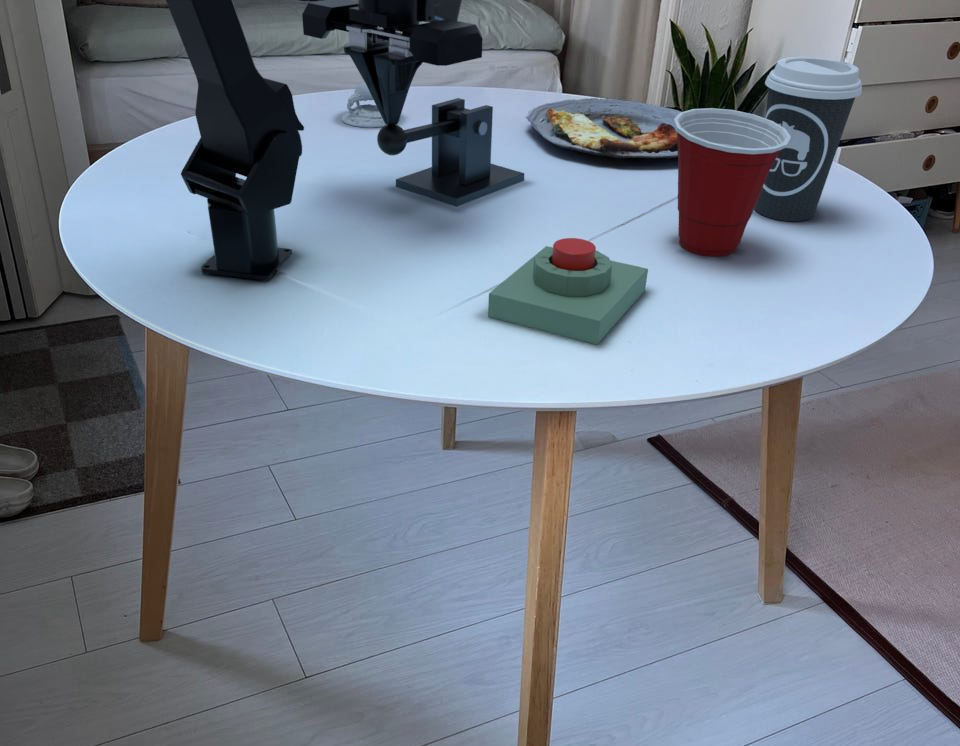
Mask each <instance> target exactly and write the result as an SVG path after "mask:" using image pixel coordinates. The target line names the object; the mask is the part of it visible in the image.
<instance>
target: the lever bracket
mask: <svg viewBox="0 0 960 746" xmlns="http://www.w3.org/2000/svg"><path fill="white" fill-rule="evenodd" d="M465 101H466V99H464V98H460V97H457V98H452V99H449V100H445V101H442V102H438V103H435V104H432V105H431V124H432V123H437V122H441V121H445V120H446V118H447V111H451V110H456V109H460V108H465V107H466V105H465V103H466V102H465ZM493 111H494V106H492V105H488V104H485V105H482V106H478V107H474V108H471V109H470V110H467V111H464V112H460V138H458V137H454V136H451V135H447V134H442V135H437V136H433V137H431V166H430V167H427V168H425V169H422V170H419V171H416V172H413V173H410V174H406V175H405V176H404V175H403V176H401V177H398V178H395V187H396V188H399V189H402V190H405V191H408V192H411V193H414V194H417V195H420V196H423V197H426V198H429V199H433V200H435V201H439V202H442V203H444V204H447V205H450V206H454V207H459V206H462V205H464V204H466V203H467V204H468V203H469V202H472V201H475V200H478V199H480V198H482V197H485V196H487V195H490V194H492V193H495V192H498V191H500V190H503V189H505V188H508V187H511V186H513V185H516V184H519V183H521V182H524V181H525V172H521V171H518V170H514V169H512V168H508V167H505V166H501V165H498V164H495V163H492V161H491V160H492V141H493V140H492V138H493V117H494V116H493V114H494V113H493Z"/></svg>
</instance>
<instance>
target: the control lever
mask: <svg viewBox="0 0 960 746" xmlns="http://www.w3.org/2000/svg"><path fill="white" fill-rule="evenodd" d="M467 110H471V109H469V108H460V109H456V110H451V111H447V118H446V120H445V121H441V122H437V123H432V122H431V123H428V124H424V125H420V126H419V125H418V126H415V127H411V128H406V129H403V127H402V126H400V125H398V124H396V125H393V126H390V125H385V126H383V127H380V130H379V131H378V133H377V137H376V142H377V145H378V147H379V149H380V151H381V152H382V153H384V155H385V154H386V155H388V156H398V155H399V154H401V153H402V152H403V151H404V150H405V149H406V146H407V144H409V143H413V142H417V141H421V140H425V139H429V138H432V137H433V136H437V135H442V134H447V135H451V136H454V137H458V138H460V112H464V111H467Z"/></svg>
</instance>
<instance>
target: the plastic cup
mask: <svg viewBox="0 0 960 746" xmlns="http://www.w3.org/2000/svg"><path fill="white" fill-rule="evenodd" d="M680 112H681V113H679V114H678V115H677V116H676V118H675V119H674V125H675V128H676V131H677V143H678V157H677V158H678V159H677V211H678V231H677V232H678V239H679V245H680V247H681V248H683V249H684V250H685V251H686V252H689V253H692V254H694V255H698V256H704V257H715V258H717V257H718V258H719V257H727V256H730V255H732V254H735V252H736V251H737V248H738V247H739V245H740V243H741V241H742V238H743V236H744V233H745V230H746V228H747V225H748V222H749V221H750V219H751V217H752V215H753V213H754V211H755V209H754V207H755V205H756V203H757V200H758V198H759V195H760V193H761V190H762V188H763V185H764V183H765V180H766V178H767V175H768V173H769V171H770V169H771V167H772V165H773V163H774V161H775V159H776V158H777V156H778V154H779V153H780V151H781V150H782V149H784V148H785V147H786V145H787V143H788V142H789V140H790V138H791V137H790V135H789V133H788V132H787V130H786V129H785V128H783V127H781V126H780V125H778V124H777V123H775V122H773V121H771V120H768V119H765V117H762V116H759V115H757V114H754V113H749V112H744V111H739V110H734V109H728V108H727V109H726V108H714V107H710V108H707V107H706V108H692V109H689V110H685V111H680Z"/></svg>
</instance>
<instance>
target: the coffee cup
mask: <svg viewBox="0 0 960 746" xmlns="http://www.w3.org/2000/svg"><path fill="white" fill-rule="evenodd" d="M859 69H860V68H859V67H857V66H856V65H854V64H852V63H849V62H847V61H842V60H839V59H832V58H826V57H816V56H790V57H789V56H788V57H783V58H780V59H778V60H777V62H776V65H775V66H774V68H773V69H772V70H771V71H770V72H769V74H768V75H767V76H766V78H765V81H764V85H765V86H766V87H767V88H768V90H767V100H766V108H765V117H764V118H765V119H768V120H771V121H773V122H775V123H777V124H778V125H780V126H781V127H783V128H785V129H786V130H787V132H788V133H789V135H790V137H791V138H790V140H789V142H788V143H787V145H786V147H785V148H784V149H782V150H781V151H780V153H779V154H778V156H777V158H776V159H775V161H774V163H773V165H772V167H771V169H770V171H769V173H768V175H767V178H766V180H765V183H764V185H763V188H762V190H761V193H760V195H759V198H758V200H757V203H756V205H755V207H754V211H755V212H756V213H758V214H759V215H761V216H763V217H766V218H769V219H772V220H776V221H782V222H783V221H784V222H804V221H809V220H811V219H812V218H814V217H815V214H816V211H817V208H818V205H819V202H820V200H821V197H822V195H823V194H822V193H823V191H824V188H825V185H826V182H827V179H828V177H829V173H830V171H831V167H832V165H833V162H834V160H835V156H836V153H837V150H838V147H839V144H840V142H841V139H842V137H843V134H844V130H845V127H846V125H847V122H848V119H849V116H850V113H851V111H852V108H853V106H854V103H855V100H856V98H857V97H859V96H861V95H862V93H863V85H862V80H861V79H860V78H859V76H860V70H859Z"/></svg>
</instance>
